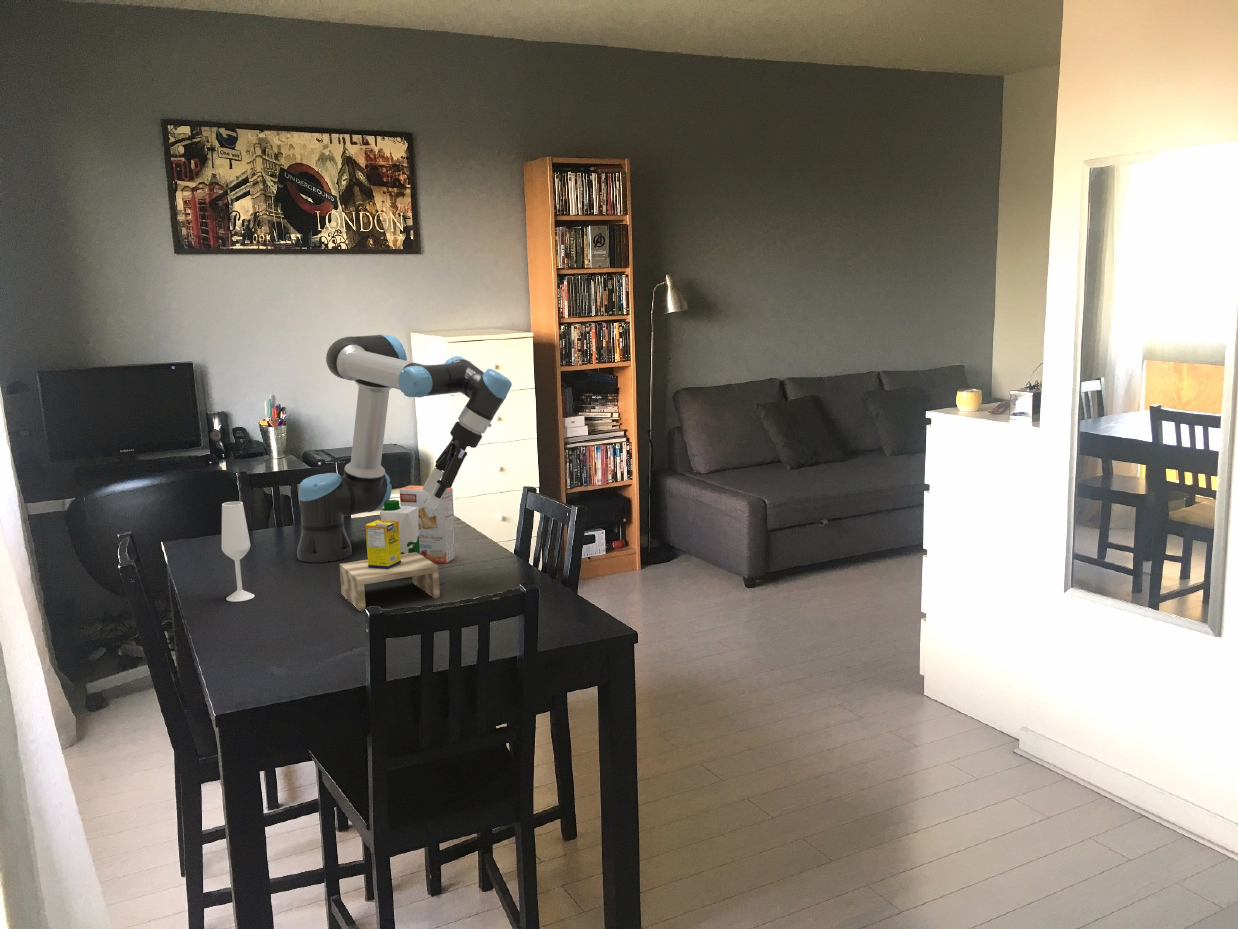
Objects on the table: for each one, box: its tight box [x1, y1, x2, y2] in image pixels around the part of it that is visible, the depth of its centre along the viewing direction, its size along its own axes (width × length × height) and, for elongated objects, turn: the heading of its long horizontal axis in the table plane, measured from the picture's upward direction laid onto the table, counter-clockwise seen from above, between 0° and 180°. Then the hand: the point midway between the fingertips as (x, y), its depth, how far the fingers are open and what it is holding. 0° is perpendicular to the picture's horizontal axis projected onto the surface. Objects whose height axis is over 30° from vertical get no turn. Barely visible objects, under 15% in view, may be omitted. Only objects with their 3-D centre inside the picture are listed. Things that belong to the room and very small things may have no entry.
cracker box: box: [399, 484, 457, 565], centre depth 273 cm, size 14×6×21 cm, turn 71°
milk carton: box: [379, 499, 420, 579], centre depth 259 cm, size 9×9×20 cm
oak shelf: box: [338, 552, 440, 612], centre depth 241 cm, size 16×20×8 cm
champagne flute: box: [221, 501, 255, 602], centre depth 240 cm, size 7×7×24 cm
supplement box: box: [365, 519, 401, 569], centre depth 239 cm, size 6×6×11 cm
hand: (428, 499), depth 245 cm, fingers open, 13 cm apart
